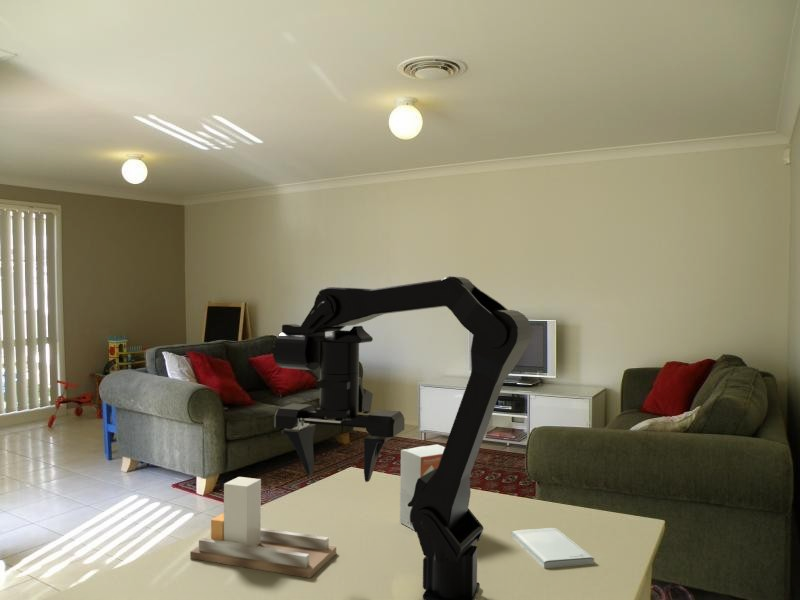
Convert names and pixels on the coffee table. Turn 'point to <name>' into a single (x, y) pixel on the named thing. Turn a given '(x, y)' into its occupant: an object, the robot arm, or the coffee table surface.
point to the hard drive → (551, 548)
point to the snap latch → (217, 528)
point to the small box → (415, 474)
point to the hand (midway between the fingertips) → (338, 477)
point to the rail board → (271, 552)
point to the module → (242, 511)
